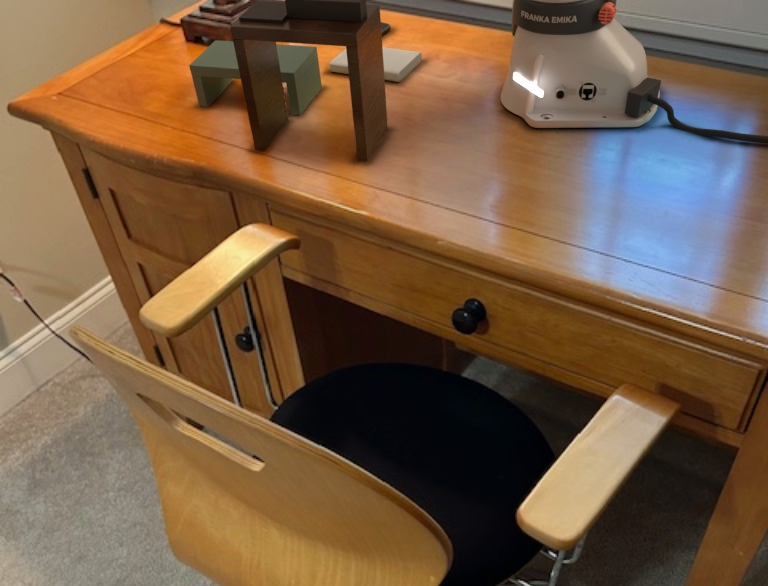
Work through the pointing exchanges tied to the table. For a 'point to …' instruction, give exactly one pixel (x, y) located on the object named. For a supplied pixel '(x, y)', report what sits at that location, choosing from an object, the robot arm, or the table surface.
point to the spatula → (306, 10)
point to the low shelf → (222, 67)
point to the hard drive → (385, 63)
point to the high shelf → (358, 37)
